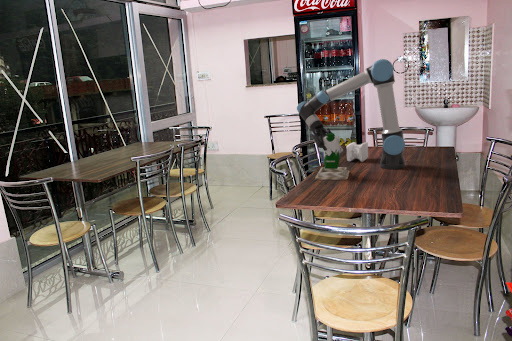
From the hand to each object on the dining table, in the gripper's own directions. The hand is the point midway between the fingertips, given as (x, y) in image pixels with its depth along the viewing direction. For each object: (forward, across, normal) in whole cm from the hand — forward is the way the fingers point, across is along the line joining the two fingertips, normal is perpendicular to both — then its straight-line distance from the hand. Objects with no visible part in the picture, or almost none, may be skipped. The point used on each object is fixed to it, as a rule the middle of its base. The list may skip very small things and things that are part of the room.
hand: (336, 153), depth 247 cm
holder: (+8, 0, -12) cm, 14 cm away
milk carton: (+4, 0, -9) cm, 10 cm away
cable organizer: (-3, -44, -23) cm, 50 cm away
